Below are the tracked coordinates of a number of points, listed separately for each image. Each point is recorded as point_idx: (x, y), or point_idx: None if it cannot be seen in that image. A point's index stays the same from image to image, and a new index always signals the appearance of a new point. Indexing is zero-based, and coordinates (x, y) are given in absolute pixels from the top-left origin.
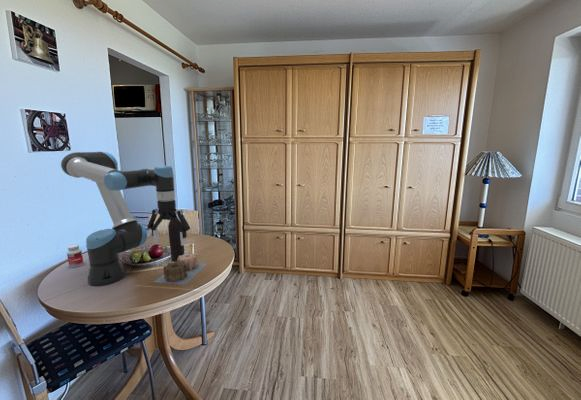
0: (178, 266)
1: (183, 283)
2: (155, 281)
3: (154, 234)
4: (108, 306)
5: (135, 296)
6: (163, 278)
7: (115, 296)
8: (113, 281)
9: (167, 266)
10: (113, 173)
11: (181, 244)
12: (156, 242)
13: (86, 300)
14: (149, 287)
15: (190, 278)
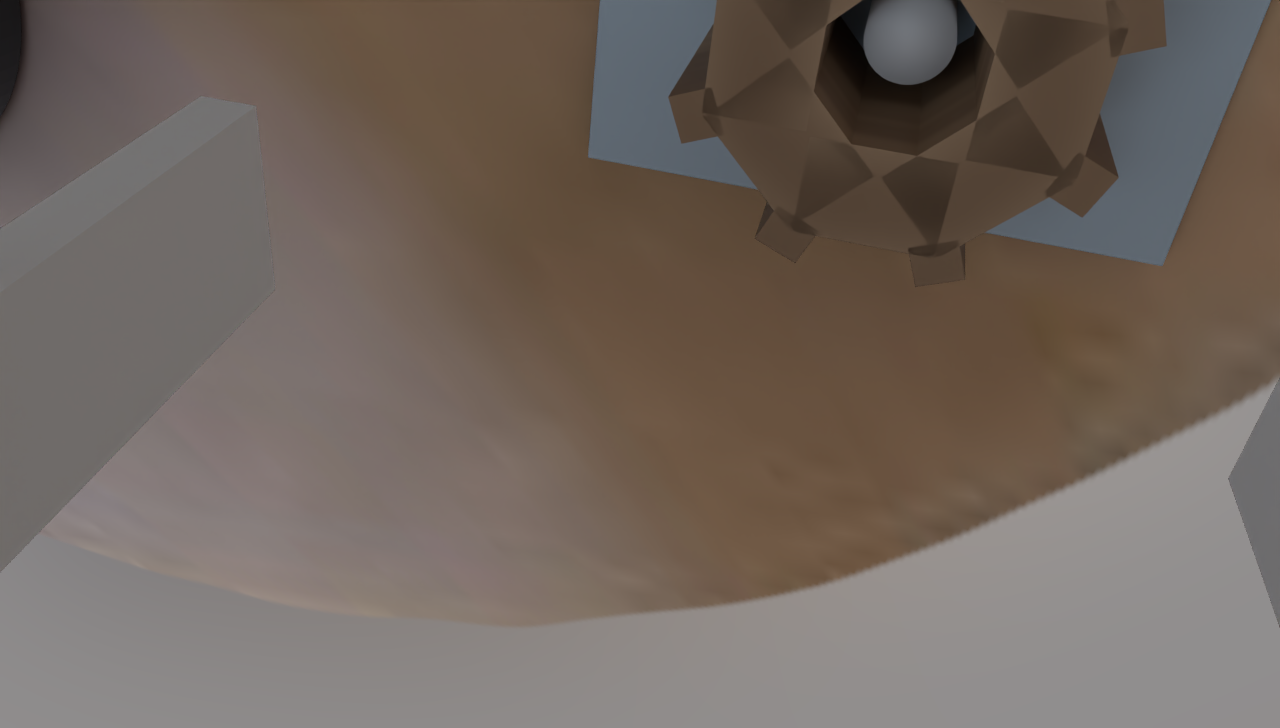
0: (1004, 123)
1: (1125, 234)
2: (612, 136)
3: (53, 489)
4: (408, 564)
5: (555, 433)
6: (693, 37)
7: (328, 407)
8: (3, 90)
9: (747, 105)
10: None
11: (1258, 511)
12: (255, 261)
13: None
14: (599, 246)
15: (1226, 57)
